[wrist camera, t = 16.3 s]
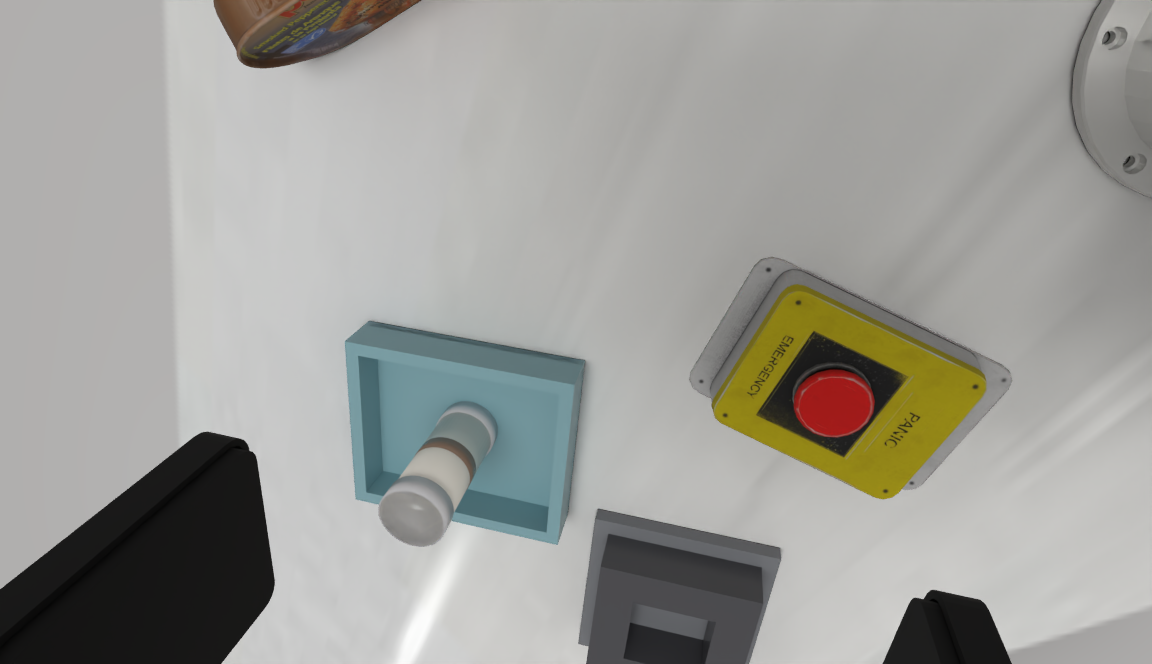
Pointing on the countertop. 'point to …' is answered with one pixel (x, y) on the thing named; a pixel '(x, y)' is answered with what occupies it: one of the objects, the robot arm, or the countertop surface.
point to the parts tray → (476, 374)
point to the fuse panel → (673, 594)
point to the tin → (300, 26)
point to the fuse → (438, 475)
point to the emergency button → (842, 381)
